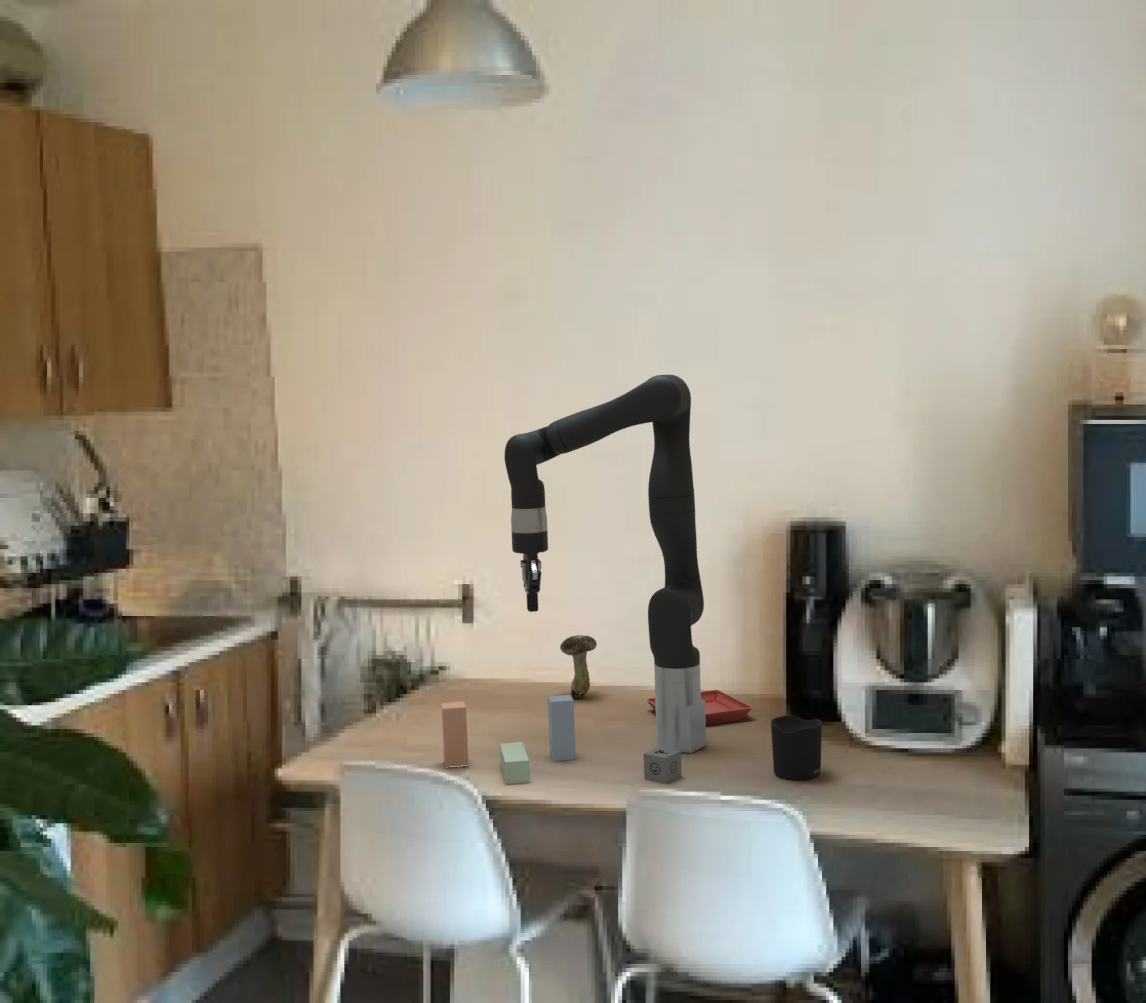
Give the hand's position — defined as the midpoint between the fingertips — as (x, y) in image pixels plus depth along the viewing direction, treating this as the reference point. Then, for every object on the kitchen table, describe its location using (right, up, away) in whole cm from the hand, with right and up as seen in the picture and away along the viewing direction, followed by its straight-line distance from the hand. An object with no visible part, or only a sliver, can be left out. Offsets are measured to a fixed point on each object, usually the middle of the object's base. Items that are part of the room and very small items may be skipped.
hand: (532, 610), depth 268 cm
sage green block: (-4, -27, -15) cm, 31 cm away
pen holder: (+51, -29, -27) cm, 64 cm away
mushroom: (+10, -24, +33) cm, 42 cm away
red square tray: (+36, -25, +15) cm, 46 cm away
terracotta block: (-15, -29, -14) cm, 36 cm away
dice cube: (+25, -29, -27) cm, 47 cm away
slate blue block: (+6, -28, -12) cm, 31 cm away
